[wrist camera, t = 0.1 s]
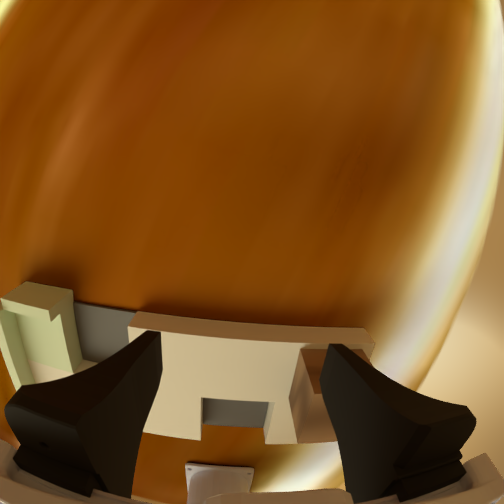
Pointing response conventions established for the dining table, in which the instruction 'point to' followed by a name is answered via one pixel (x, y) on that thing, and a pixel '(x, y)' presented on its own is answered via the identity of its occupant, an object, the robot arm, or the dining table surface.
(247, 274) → the dining table surface
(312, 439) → the walnut block
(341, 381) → the robot arm
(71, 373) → the board
